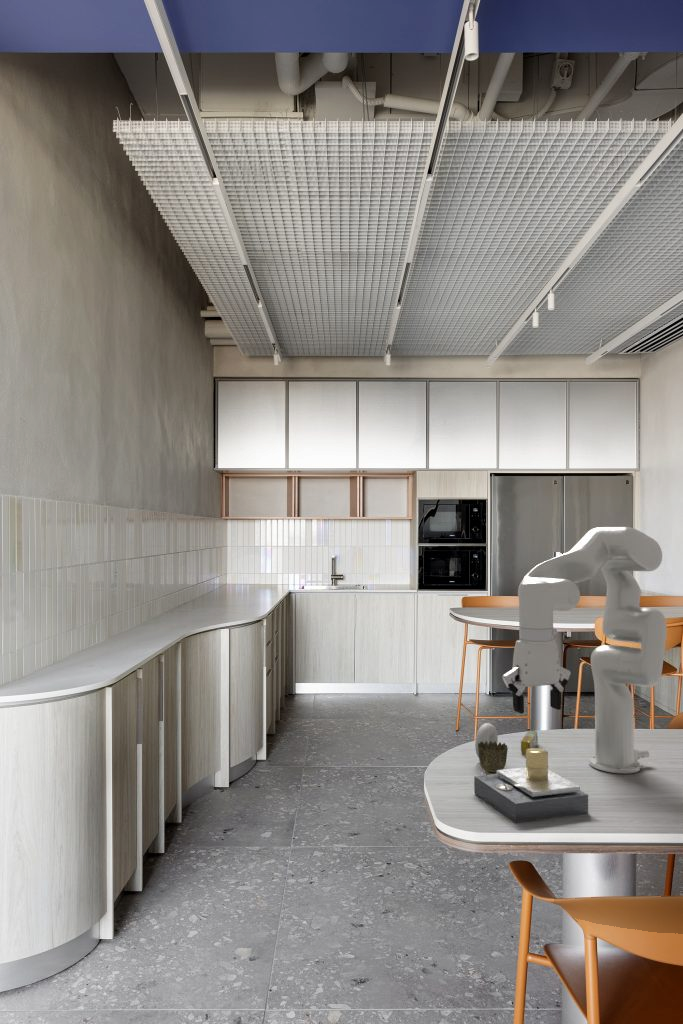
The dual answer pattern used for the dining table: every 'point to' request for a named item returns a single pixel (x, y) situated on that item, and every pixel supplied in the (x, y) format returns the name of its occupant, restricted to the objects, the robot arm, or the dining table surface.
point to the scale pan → (534, 788)
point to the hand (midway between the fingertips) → (537, 710)
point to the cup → (492, 756)
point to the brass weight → (537, 764)
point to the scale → (527, 800)
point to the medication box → (529, 741)
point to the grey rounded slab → (485, 735)
